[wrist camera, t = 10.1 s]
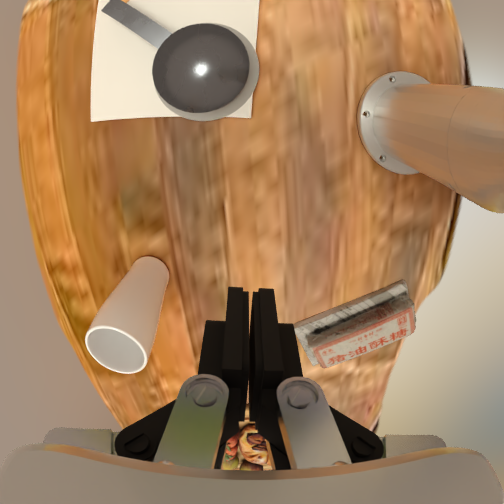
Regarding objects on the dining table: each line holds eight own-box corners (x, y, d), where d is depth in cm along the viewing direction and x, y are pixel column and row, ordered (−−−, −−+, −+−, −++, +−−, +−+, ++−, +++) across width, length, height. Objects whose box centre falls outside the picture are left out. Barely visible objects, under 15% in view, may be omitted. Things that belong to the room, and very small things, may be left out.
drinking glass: (175, 296, 42) (150, 380, 28) (129, 288, 41) (90, 366, 28) (176, 253, 39) (145, 333, 25) (127, 246, 38) (78, 319, 25)
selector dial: (267, 66, 27) (270, 62, 24) (208, 129, 30) (203, 132, 27) (146, -20, 21) (136, -30, 18) (93, 41, 24) (78, 37, 21)
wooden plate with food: (355, 407, 57) (363, 439, 49) (296, 466, 70) (298, 490, 63) (204, 385, 53) (199, 422, 45) (182, 451, 66) (178, 477, 59)
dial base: (265, -27, 23) (266, -33, 21) (255, 122, 31) (255, 123, 30) (107, -16, 22) (101, -20, 20) (96, 124, 31) (90, 126, 29)
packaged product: (416, 294, 37) (421, 340, 41) (403, 275, 41) (410, 320, 46) (294, 344, 40) (315, 383, 45) (290, 321, 45) (311, 361, 49)
